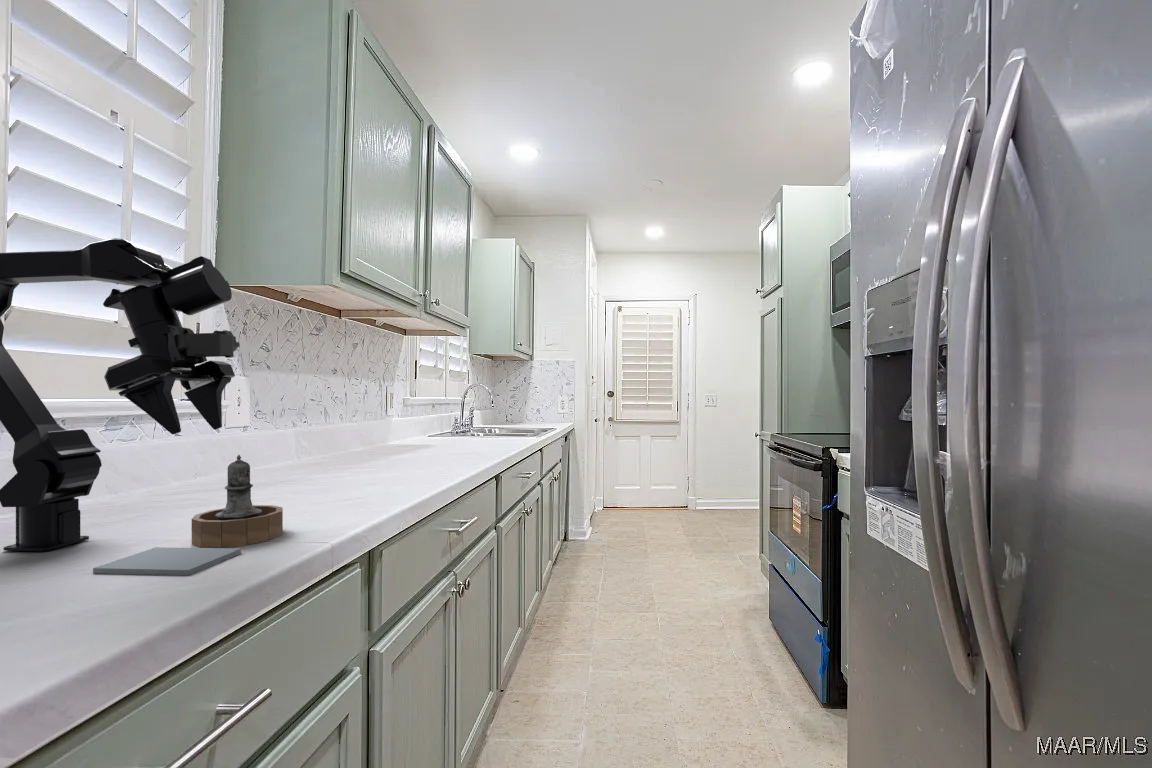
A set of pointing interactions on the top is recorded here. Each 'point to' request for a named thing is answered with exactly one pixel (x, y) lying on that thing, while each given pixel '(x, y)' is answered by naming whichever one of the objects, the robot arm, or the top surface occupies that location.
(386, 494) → the top surface
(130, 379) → the robot arm
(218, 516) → the salt shaker
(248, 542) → the ring
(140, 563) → the mat
